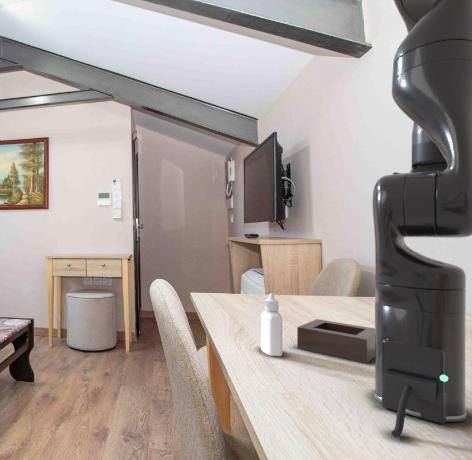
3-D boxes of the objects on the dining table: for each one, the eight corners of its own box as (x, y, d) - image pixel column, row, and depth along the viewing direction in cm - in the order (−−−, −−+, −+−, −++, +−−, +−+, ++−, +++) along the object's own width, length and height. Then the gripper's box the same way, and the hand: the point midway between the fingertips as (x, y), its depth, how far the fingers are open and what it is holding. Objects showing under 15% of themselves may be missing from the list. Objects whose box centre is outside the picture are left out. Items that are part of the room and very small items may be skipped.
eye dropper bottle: (256, 353, 77) (256, 294, 77) (262, 346, 81) (263, 290, 81) (280, 358, 74) (280, 296, 74) (286, 351, 78) (286, 293, 78)
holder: (366, 363, 71) (366, 339, 71) (297, 348, 80) (297, 327, 80) (382, 351, 78) (382, 329, 78) (316, 338, 87) (316, 319, 87)
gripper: (387, 145, 84) (387, 218, 84) (484, 132, 73) (484, 216, 73) (395, 150, 89) (395, 219, 89) (488, 139, 78) (488, 218, 77)
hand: (435, 218), depth 81 cm, fingers open, 8 cm apart
